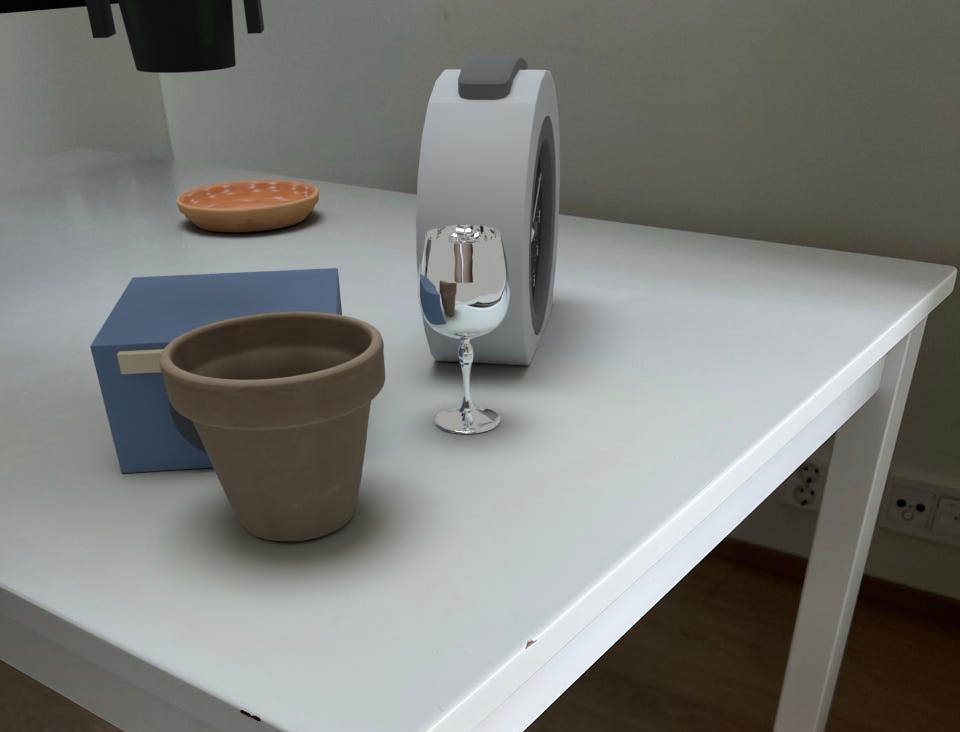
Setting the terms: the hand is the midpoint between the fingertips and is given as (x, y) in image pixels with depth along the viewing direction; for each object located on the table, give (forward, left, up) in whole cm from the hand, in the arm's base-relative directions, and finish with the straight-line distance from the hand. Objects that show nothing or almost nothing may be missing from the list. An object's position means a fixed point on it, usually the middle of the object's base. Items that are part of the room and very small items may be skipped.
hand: (180, 33), depth 56 cm
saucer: (-4, +57, -23) cm, 62 cm away
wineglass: (+15, -4, -23) cm, 28 cm away
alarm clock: (+19, +13, -23) cm, 33 cm away
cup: (0, 0, -2) cm, 2 cm away
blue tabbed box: (0, -2, -23) cm, 23 cm away
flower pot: (+4, -16, -23) cm, 28 cm away
